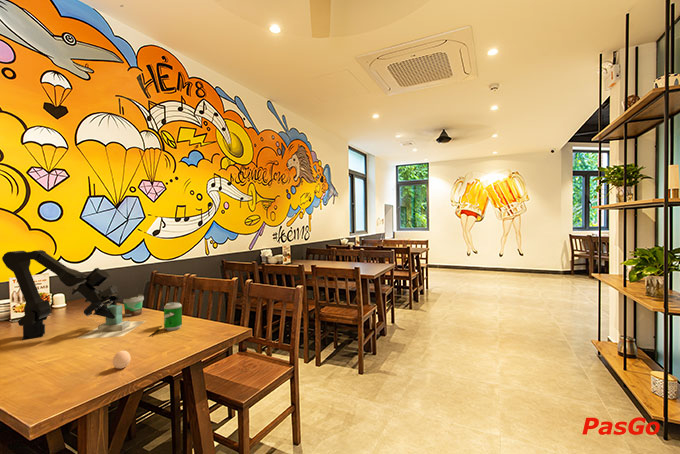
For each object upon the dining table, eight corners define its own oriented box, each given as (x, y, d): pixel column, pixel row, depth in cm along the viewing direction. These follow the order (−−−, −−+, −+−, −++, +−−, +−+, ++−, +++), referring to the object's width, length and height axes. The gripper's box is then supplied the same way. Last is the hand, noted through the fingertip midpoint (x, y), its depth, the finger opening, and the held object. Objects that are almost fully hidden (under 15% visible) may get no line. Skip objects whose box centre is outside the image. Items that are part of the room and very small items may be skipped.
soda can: (177, 325, 152) (177, 300, 152) (184, 328, 148) (184, 303, 148) (161, 329, 147) (161, 303, 147) (168, 332, 142) (167, 306, 142)
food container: (134, 318, 165) (134, 299, 165) (123, 318, 165) (122, 299, 165) (149, 311, 177) (149, 294, 177) (138, 311, 178) (138, 294, 177)
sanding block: (97, 331, 139) (97, 308, 139) (106, 327, 145) (106, 304, 145) (121, 330, 140) (121, 307, 140) (129, 326, 147) (129, 304, 147)
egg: (132, 367, 107) (132, 350, 107) (114, 372, 103) (114, 355, 103) (128, 363, 110) (128, 346, 110) (110, 368, 106) (110, 351, 106)
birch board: (75, 342, 130) (75, 338, 130) (107, 325, 152) (107, 322, 152) (121, 339, 133) (121, 336, 133) (146, 323, 155) (146, 320, 155)
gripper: (91, 284, 133) (119, 309, 134) (116, 277, 151) (140, 299, 153) (71, 303, 132) (99, 328, 133) (99, 294, 150) (123, 315, 152)
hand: (117, 316), depth 143 cm, fingers closed on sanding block, 4 cm apart
